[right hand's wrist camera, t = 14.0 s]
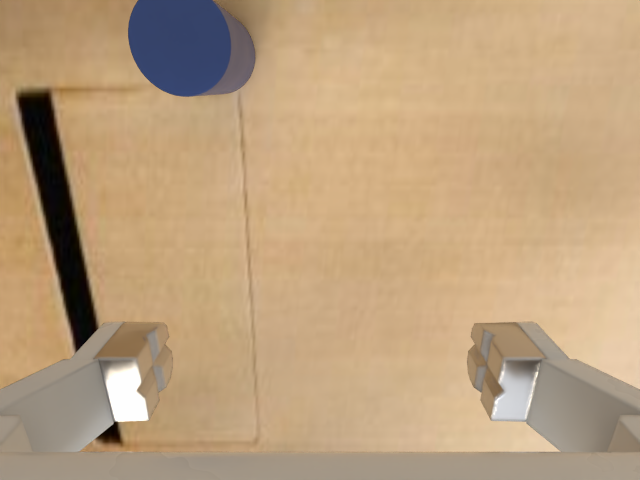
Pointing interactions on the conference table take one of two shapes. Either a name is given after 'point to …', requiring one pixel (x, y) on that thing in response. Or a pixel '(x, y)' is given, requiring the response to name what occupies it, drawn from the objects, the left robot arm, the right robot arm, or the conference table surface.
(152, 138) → the conference table surface
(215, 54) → the can
